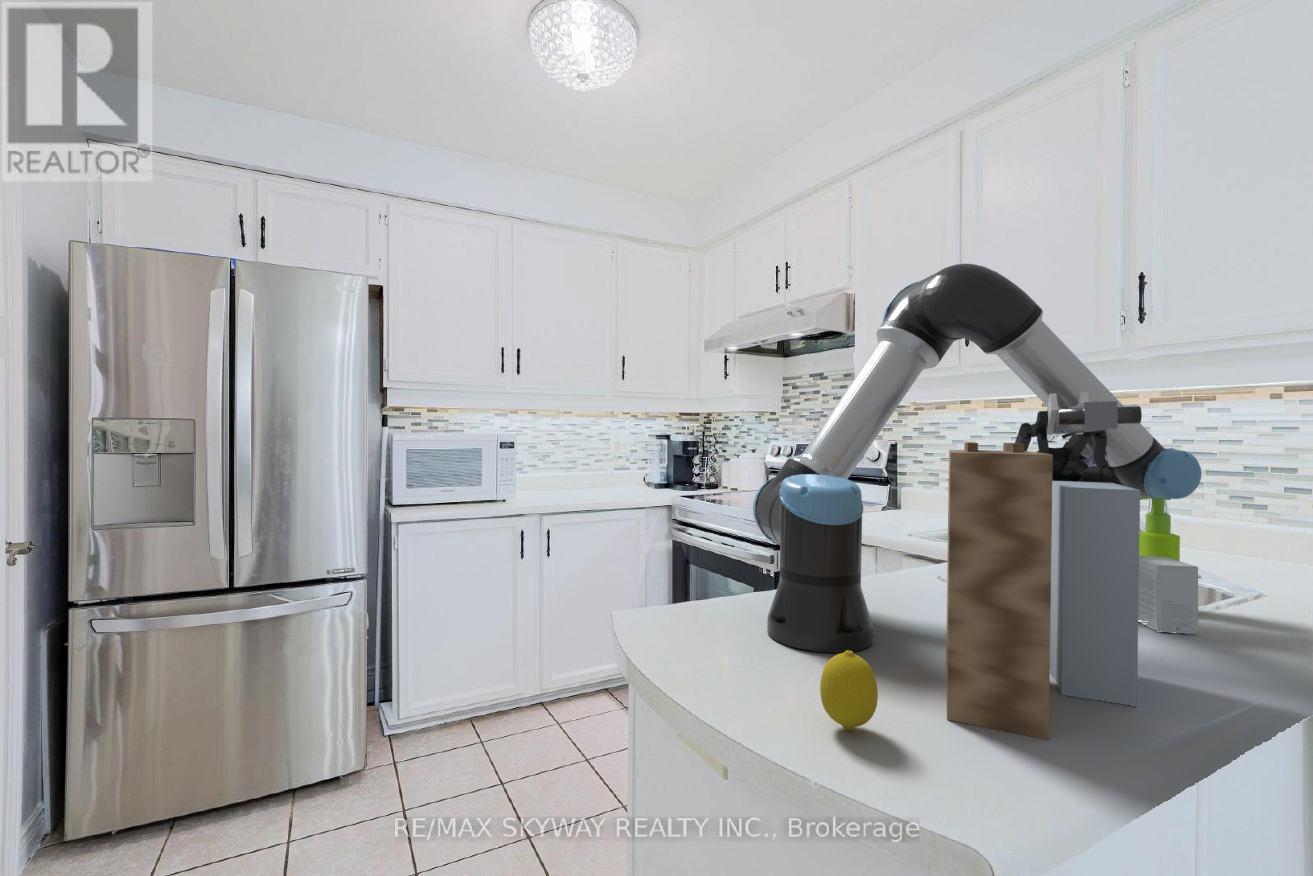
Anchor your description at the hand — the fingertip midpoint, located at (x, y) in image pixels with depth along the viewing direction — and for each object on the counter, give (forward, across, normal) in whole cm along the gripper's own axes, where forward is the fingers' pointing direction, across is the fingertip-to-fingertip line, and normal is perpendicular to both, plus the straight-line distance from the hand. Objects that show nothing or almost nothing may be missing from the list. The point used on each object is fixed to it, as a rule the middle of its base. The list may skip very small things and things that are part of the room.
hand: (1069, 401), depth 80 cm
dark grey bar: (+3, 0, -7) cm, 8 cm away
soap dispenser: (-50, -17, -12) cm, 54 cm away
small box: (-39, -15, -18) cm, 46 cm away
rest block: (-11, 0, -34) cm, 36 cm away
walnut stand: (-2, +10, -39) cm, 40 cm away
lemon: (+12, +24, -47) cm, 54 cm away
